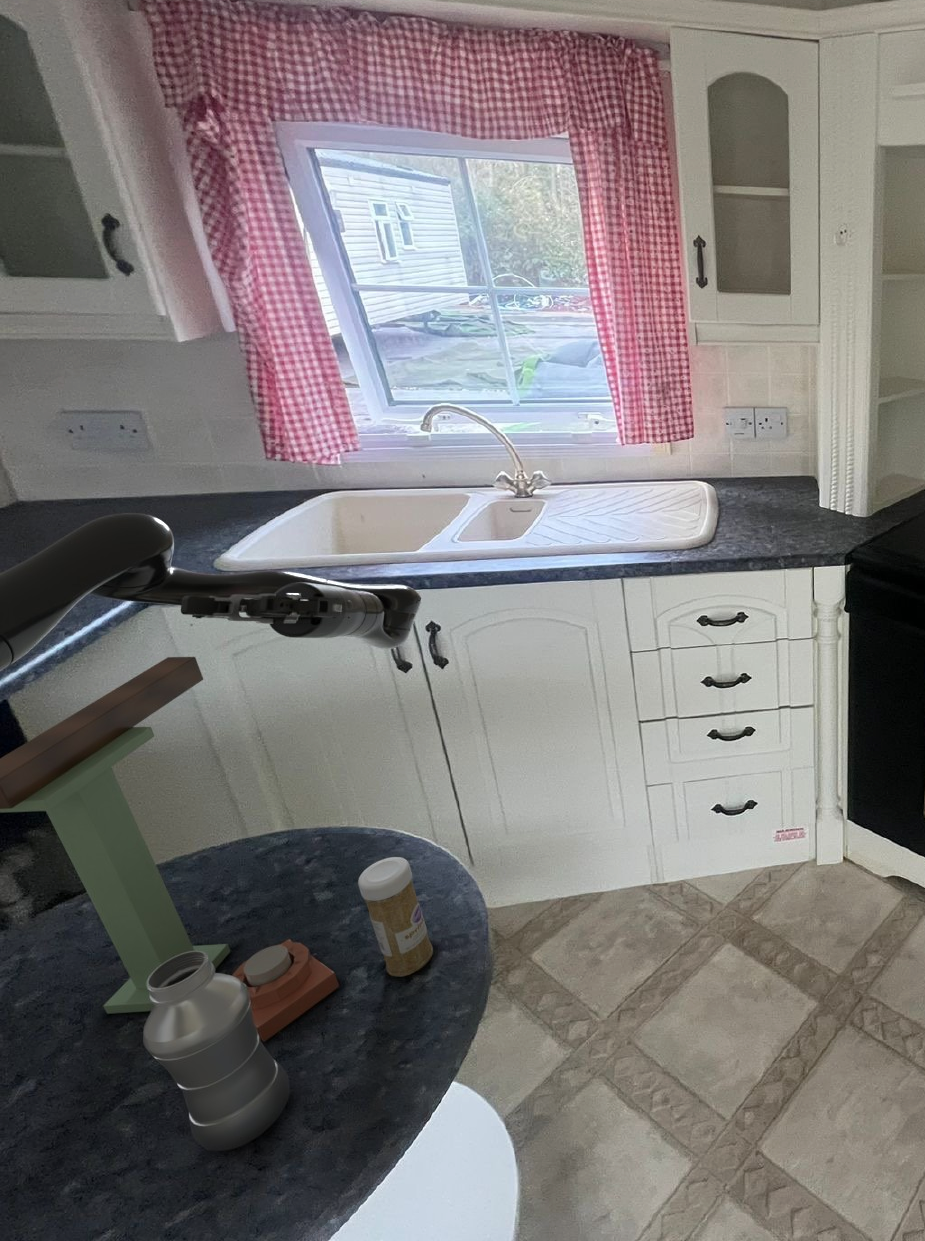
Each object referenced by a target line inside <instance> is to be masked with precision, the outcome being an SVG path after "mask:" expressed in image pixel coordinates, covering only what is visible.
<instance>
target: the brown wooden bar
mask: <svg viewBox="0 0 925 1241" xmlns="http://www.w3.org/2000/svg"><path fill="white" fill-rule="evenodd" d="M200 668H201V667H200V666H199V663H198V660H197V657H196V656H167V657H165V658H164V659H163V660H160V661H159V662H157V663H156V664H154V665H153V666H151V667H149V668H148V669H146V670H145V671H143V672H141V673H139V674H137V675H136V676H134V677H133V678H131V679H129V680H128V681H125V683H123V684H121V685H119V686H118V687H116V688H114V689H113V690H111V691H110V692H108V693H106V694H104V695H103V696H101V697H99V698H98V699H96V700H94V701H93V702H91V703H89V704H88V705H87V706H84V707H83V708H81V709H80V710H78V711H77V712H74V713H73V714H71V715H70V716H68V717H66V718H65V719H64V720H61V721H60V722H58V723H57V724H55V725H54V726H52V727H50V728H49V729H47V730H45V731H44V732H42V733H40V734H37V736H35V737H33V738H32V739H30V740H28V741H27V742H25V743H24V744H22V745H20V746H19V747H17V748H15V749H13V750H11V751H10V752H9V753H6V755H4V756H2V757H1V758H0V809H11V808H13V807H15V806H16V805H18V804H19V803H21V802H22V801H24V800H25V799H27V798H28V797H30V796H31V795H33V794H34V793H36V792H37V791H39V790H40V789H42V788H43V787H45V786H46V785H47V784H49V783H50V782H52V781H53V780H55V779H56V778H58V777H59V776H61V775H62V774H64V773H65V772H67V771H68V770H70V769H71V768H73V767H74V766H76V765H77V764H79V763H80V762H82V761H83V760H85V759H86V758H88V757H89V756H91V755H92V754H94V753H95V752H96V751H98V750H99V749H101V748H102V747H104V746H105V745H107V744H108V743H110V742H111V741H113V740H114V739H116V738H117V737H119V736H120V735H122V734H123V733H125V732H126V731H128V730H129V729H131V728H132V727H136V726H137V725H138V724H140V723H141V722H143V721H144V720H145V719H147V718H149V717H150V716H152V715H153V714H154V713H156V712H158V711H159V710H160V709H162V708H163V707H165V706H167V705H168V704H169V703H171V702H173V701H174V700H175V699H177V698H178V697H180V696H182V695H183V694H184V693H186V692H187V691H188V690H190V689H191V688H193V687H194V686H196V685H198V684H199V683H200V682H202V681H203V680H204V677H203V673H202V671H201V669H200Z"/></svg>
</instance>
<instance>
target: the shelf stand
mask: <svg viewBox="0 0 925 1241" xmlns="http://www.w3.org/2000/svg"><path fill="white" fill-rule="evenodd" d="M155 736H156V735H155V733H154V730H153V729H152V727H151V726H134V727H132V728H131V729H129V730H128V731H126V732H125V733H123V734H122V735H120V736H119V737H117V738H116V739H114V740H113V741H111V742H110V743H108V744H107V745H105V746H104V747H102V748H101V749H99V750H98V751H96V752H95V753H94V754H92V755H91V756H89V757H88V758H86V759H85V760H83V761H82V762H80V763H79V764H77V765H76V766H74V767H73V768H71V769H70V770H68V771H67V772H65V773H64V774H62V775H61V776H59V777H58V778H56V779H55V780H53V781H52V782H50V783H49V784H47V785H46V786H45V787H43V788H42V789H40V790H39V791H37V792H36V793H34V794H33V795H31V796H30V797H28V798H27V799H25V800H24V801H22V802H21V803H19V804H18V805H16V806H15V807H13V808H11V809H0V813H22V812H23V813H24V812H46V814H47V816H48V818H49V820H50V822H51V824H52V826H53V829H54V830H55V833H56V834H57V836H58V838H59V840H60V842H61V844H62V846H63V847H64V849H65V852H66V853H67V855H68V857H69V859H70V861H71V863H72V865H73V868H74V869H75V872H76V873H77V875H78V878H79V879H80V881H81V883H82V885H83V887H84V889H85V891H86V893H87V895H88V897H89V899H90V901H91V903H92V904H93V906H94V909H95V911H96V912H97V915H98V916H99V918H100V920H101V922H102V925H103V926H104V928H105V930H106V932H107V935H108V936H109V938H110V940H111V942H112V945H113V946H114V948H115V950H116V952H117V954H118V957H119V958H120V960H121V962H122V964H123V966H124V967H125V970H126V971H127V974H128V976H129V979H128V980H127V981H126V982H125V983H124V984H123V985H122V986H121V987H120V988H119V989H118V990H117V991H116V992H115V993H114V994H113V995H112V996H111V997H110V998H109V999H108V1000H107V1001H106V1002H105V1003H104V1004H103V1005H102V1007H103V1009H104V1011H105V1012H106V1014H108V1015H110V1014H124V1013H125V1014H126V1013H127V1014H128V1013H141V1012H151V1011H152V1009H153V1008H154V1006H155V1005H153V1004H152V1002H151V1000H150V993H149V991H148V989H147V979H148V977H149V976H150V974H151V973H152V972H153V971H154V970H155V969H156V968H157V967H159V966H160V965H161V964H163V963H164V962H166V961H167V960H169V959H171V958H173V957H175V956H177V955H179V954H182V953H185V952H189V951H195V950H199V951H204V952H205V953H206V954H207V955H208V957H209V960H210V962H211V963H213V965H214V967H215V970H216V969H217V968H218V967H219V965H221V963H222V962H223V961H224V959H225V958H226V957H227V956H228V955H229V954H230V953H231V949H230V946H229V944H228V943H223V944H222V943H220V944H219V943H218V944H203V945H193V944H192V942H191V939H190V937H189V935H188V933H187V930H186V929H185V926H184V924H183V922H182V919H181V917H180V915H179V913H178V911H177V909H176V906H175V904H174V902H173V900H172V898H171V895H170V893H169V891H168V889H167V887H166V884H165V883H164V880H163V877H162V876H161V873H160V871H159V869H158V867H157V865H156V862H155V861H154V858H153V856H152V853H151V852H150V849H149V847H148V845H147V842H146V841H145V838H144V835H143V834H142V832H141V829H140V827H139V826H138V822H137V821H136V818H135V816H134V813H133V812H132V809H131V807H130V805H129V803H128V801H127V798H126V796H125V794H124V792H123V790H122V788H121V785H120V783H119V781H118V779H117V776H116V774H115V772H114V770H113V767H114V766H115V765H116V764H118V763H119V762H121V761H122V760H123V759H124V758H126V757H127V756H129V755H130V754H133V752H134V751H135V750H137V749H139V748H140V747H141V746H143V745H145V744H146V743H147V742H149V741H150V740H152V739H153V738H154V737H155Z"/></svg>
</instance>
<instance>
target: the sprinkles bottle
mask: <svg viewBox="0 0 925 1241" xmlns="http://www.w3.org/2000/svg"><path fill="white" fill-rule="evenodd" d="M412 878H413V873H412V869H411V866H410V862H409V861H408V860H407V859H406V858H404V857H400V856H391V857H386V858H383V859H381V860H377V861H376V862H374V863H372V864H371V865H369V866H368V867H367V868H365V869H364V870H363V872H362V873H361V874H360V876H359V877H358V879H357V880H358V881H357V884H358V889H359V892H360V895H361V897H362V898H363V900H364V901H365V904H366V907H367V910H368V913H369V919H370V922H371V925H372V928H373V930H374V934H375V937H376V939H377V940H376V941H377V943H378V946H379V949H380V952H381V953H382V955H383V958H384V962H385V966H386V967H385V968H386V972H387V973H388V975H390V976H392V977H398V978H399V977H401V978H402V977H406V976H410V975H411V974H414V973H415V972H418V971H420V970H421V969H422V968H424V966H425V965H426V964H427V963H428V962H429V961H430V960H431V958H432V957H433V954H434V948H433V945H432V943H431V941H430V937H429V935H428V931H427V930H428V929H427V925H426V921H425V918H424V915H423V911H422V909H421V906H420V903H419V899H418V896H417V893H416V890H415V887H414V884H413V880H412Z"/></svg>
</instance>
